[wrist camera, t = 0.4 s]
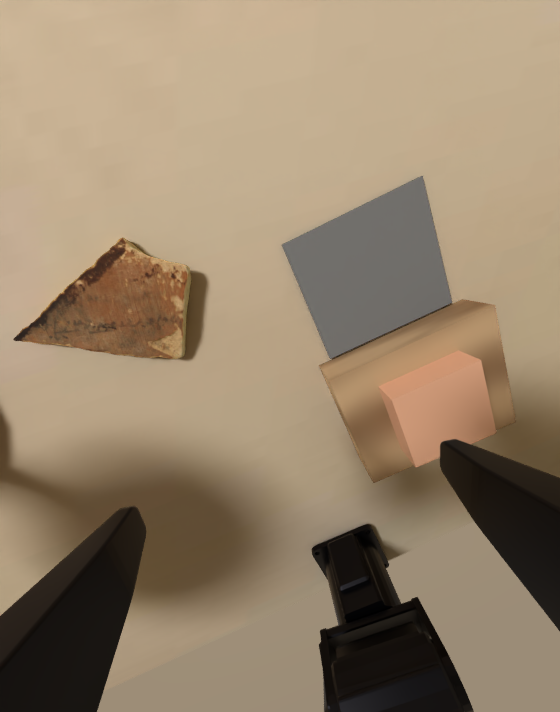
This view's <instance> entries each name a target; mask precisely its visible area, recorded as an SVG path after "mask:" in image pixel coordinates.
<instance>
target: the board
mask: <svg viewBox="0 0 560 712" xmlns="http://www.w3.org/2000/svg"><path fill="white" fill-rule="evenodd" d="M458 350H459V351H461V352H464V353H466V354H468V355H471V356H473V357H475V358H478V359H480V360H481V362H482V367H483V371H484V376H485V381H486V386H487V390H488V395H489V400H490V405H491V409H492V414H493V419H494V423H495V428H496V430H498V429H500V428H503V427H505V426H507V425H510V424H512V423H514V422H516V420H515V414H514V409H513V403H512V398H511V392H510V386H509V381H508V375H507V370H506V364H505V358H504V353H503V347H502V342H501V336H500V330H499V325H498V319H497V314H496V308H495V305H491V304H486V303H480V302H474V301H469V300H463V299H462V300H460V301H458V302H456V303H454V304H452V305H449V306H447V307H445V308H443V309H441V310H439V311H436V312H434V313H432V314H430V315H428V316H426V317H423V318H421V319H419V320H417V321H415V322H413V323H410V324H408V325H406V326H404V327H402V328H400V329H397V330H395V331H393V332H391V333H389V334H387V335H384V336H382V337H380V338H378V339H376V340H374V341H371V342H369V343H367V344H365V345H363V346H361V347H358V348H356V349H354V350H352V351H350V352H348V353H345V354H343V355H341V356H339V357H337V358H335V359H332V360H330V361H328V362H326V363H324V364H322V365H319V367H320V369H321V371H322V374H323V376H324V378H325V380H326V383H327V385H328V387H329V389H330V392H331V394H332V396H333V398H334V401H335V403H336V405H337V407H338V410H339V412H340V414H341V416H342V419H343V421H344V423H345V425H346V428H347V430H348V432H349V435H350V437H351V439H352V441H353V444H354V446H355V448H356V450H357V453H358V455H359V457H360V459H361V461H362V463H363V465H364V466H365V468H366V470H367V472H368V474H369V476H370V477H371V479H372V481H373V483H375V482H377V481H380V480H382V479H384V478H386V477H389V476H391V475H393V474H396V473H398V472H400V471H403V470H405V469H407V468H410V467H412V466H414V465H413V463H412V462H411V461H410V460H409V458H408V457H407V456H406V455H405V453H404V452H403V451H402V450H401V447H400V444H399V442H398V439H397V436H396V433H395V431H394V428H393V425H392V423H391V420H390V417H389V415H388V412H387V409H386V406H385V404H384V401H383V398H382V396H381V393H380V390H379V387H378V386H380V385H383V384H385V383H387V382H389V381H392V380H394V379H396V378H398V377H400V376H403V375H405V374H407V373H409V372H411V371H414V370H416V369H418V368H420V367H423V366H425V365H427V364H429V363H431V362H434V361H436V360H438V359H440V358H443V357H445V356H447V355H449V354H451V353H454V352H456V351H458Z"/></svg>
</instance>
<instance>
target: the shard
mask: <svg viewBox="0 0 560 712" xmlns="http://www.w3.org/2000/svg"><path fill="white" fill-rule="evenodd" d="M191 282H192V281H191V274H190V268H189V267H188V266H186V265H183V264H179V263H173V262H168V261H165V260H161V259H157V258H154V257H150V256H148V255H146V254H144V253H143V252H142V251H141V250H139V249H138V248H137V247H136V246H135V245H133V244H132V243H131V242H129V241H128V240H126V239H125V238H121V239H119V240H118V242H117V243H116V244H115V245H114V246H112V247H111V248H110V250H109V251H108V252H106V253H104V254H103V255H102V256H101V257H100V258H99V259H98V260H97V261H96V262H95V264H94V265H93V266H92V267H90V268H88V269H86V270H85V271H84V272H83V273H82V274H81V275H80V276H79V277H78V278H77V279H76V280H75V281H74V282H72V283H71V284H70V285H68V286H67V287H66V288H65V289H64V290H63V292H62V293H60V294H59V295H58V296H57V297H56V298H55V299H54V300H53V301H52V302H51V303H50V304H49V305H48V306H47V308H46V309H45V310H44V311H43V312H42V313H41V315H40V316H39V317H38V318H37V319H36V320H35V321H34V322H33V323H31V324H30V325H29V326H28V327H25V328H24V329H22V330H21V332H20V333H19V334H18V335H17V336H16V337H15V338H14V341H23V342H33V343H40V344H58V345H64V346H70V347H76V348H82V349H85V350H90V351H96V352H106V353H111V354H115V355H124V356H126V355H131V356H135V357H148V358H155V357H163V358H169V359H177V358H180V357H184V355H185V348H186V345H185V340H186V313H187V306H188V301H189V292H190V285H191Z"/></svg>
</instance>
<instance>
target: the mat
mask: <svg viewBox="0 0 560 712" xmlns="http://www.w3.org/2000/svg"><path fill="white" fill-rule="evenodd" d="M282 247H283V249H284V251H285V254H286V256H287V258H288V261H289V263H290V265H291V268H292V270H293V273H294V275H295V277H296V280H297V282H298V284H299V287H300V289H301V291H302V294H303V296H304V299H305V301H306V303H307V306H308V308H309V310H310V313H311V315H312V317H313V320H314V322H315V325H316V327H317V329H318V332H319V334H320V336H321V339H322V341H323V343H324V346H325V348H326V351H327V353H328V355H329V358H330V359H331V358H333V357H336V356H338V355H340V354H342V353H344V352H346V351H349V350H351V349H353V348H355V347H357V346H359V345H362V344H364V343H366V342H368V341H370V340H372V339H375V338H377V337H379V336H381V335H383V334H385V333H388V332H390V331H392V330H394V329H396V328H398V327H401V326H403V325H405V324H407V323H409V322H411V321H414V320H416V319H418V318H420V317H422V316H424V315H427V314H429V313H431V312H433V311H435V310H437V309H440V308H442V307H444V306H446V305H448V304H450V303H452V300H451V295H450V291H449V287H448V283H447V278H446V274H445V270H444V266H443V261H442V257H441V253H440V248H439V244H438V240H437V236H436V231H435V227H434V223H433V218H432V214H431V210H430V206H429V201H428V197H427V193H426V188H425V184H424V180H423V176H421V177H418V178H416V179H414V180H412V181H410V182H408V183H406V184H404V185H402V186H400V187H398V188H396V189H394V190H392V191H390V192H388V193H386V194H384V195H382V196H380V197H378V198H376V199H374V200H372V201H370V202H368V203H366V204H364V205H362V206H360V207H358V208H355V209H353V210H351V211H349V212H347V213H345V214H343V215H341V216H339V217H337V218H335V219H333V220H331V221H329V222H327V223H325V224H323V225H321V226H319V227H317V228H315V229H313V230H311V231H309V232H307V233H305V234H303V235H301V236H299V237H297V238H295V239H292V240H290V241H288V242H286V243H284V244H282Z"/></svg>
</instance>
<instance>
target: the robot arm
mask: <svg viewBox="0 0 560 712" xmlns="http://www.w3.org/2000/svg"><path fill="white" fill-rule="evenodd" d="M440 467H441V470H442V472H443V474H444V475H445V477H446V478H447V480H448V482H449V483H450V485H451V486H452V488H453V489H454V491H455V492H456V494H457V495H458V497H459V499H460V500H461V502H462V503H463V505H464V506H465V508H466V509H467V511H468V512H469V514H470V516H471V517H472V518H473V520H474V521H475V523H476V524H477V526H478V527H479V528H480V529H481V531H482V532H483V534H484V535H485V536H486V537H487V539H488V540H489V541H490V542H491V544H492V545H493V546H494V547H495V549H496V550H497V551H498V553H499V554H500V555H501V557H502V558H503V559H504V560H505V562H506V563H507V564H508V565H509V567H510V568H511V569H512V570H513V572H514V573H515V574H516V576H517V577H518V578H519V580H520V581H521V582H522V583H523V585H524V586H525V587H526V588H527V590H528V591H529V592H530V594H531V595H532V596H533V598H534V599H535V600H536V601H537V603H538V604H539V605H540V606H541V608H542V609H543V610H544V612H545V613H546V614H547V615H548V617H549V618H550V619H551V621H552V622H553V623H554V624H555V626H556V627H557V628H558V630H559V631H560V478H558V477H556V476H553V475H550V474H548V473H545V472H542V471H540V470H537V469H535V468H532V467H529V466H527V465H524V464H521V463H519V462H516V461H513V460H511V459H508V458H505V457H503V456H500V455H497V454H495V453H492V452H489V451H487V450H484V449H481V448H479V447H476V446H473V445H471V444H468V443H465V442H463V441H460V440H457V439H451V440H446V441H442V442H441V444H440ZM145 538H146V526H145V524H144V522H143V519H142V517H141V515H140V512H139V510H138V508H137V507H136V506H129V507H125V508H121V509H119V510H118V511H117V512H116V513H114V514H113V515H112V516H111V517H110V518H109V519H108V520H107V521H106V522H104V523H103V524H102V525H101V526H100V527H99V528H98V529H97V530H96V531H94V532H93V533H92V534H91V535H90V536H89V537H88V538H87V539H85V540H84V541H83V542H82V543H81V544H80V545H79V546H78V547H77V548H75V549H74V550H73V551H72V552H71V553H70V554H69V555H68V556H67V557H65V558H64V559H63V560H62V561H61V562H60V563H59V564H58V565H57V566H55V567H54V568H53V569H52V570H51V571H50V572H49V573H48V574H47V575H45V576H44V577H43V578H42V579H41V580H40V581H39V582H38V583H37V584H35V585H34V586H33V587H32V588H31V589H30V590H29V591H28V592H26V593H25V594H24V595H23V596H22V597H21V598H20V599H19V600H18V601H16V602H15V603H14V604H13V605H12V606H11V607H10V608H9V609H8V610H6V611H5V612H4V613H3V614H2V615H1V616H0V712H97V710H98V706H99V703H100V700H101V697H102V694H103V690H104V687H105V684H106V681H107V678H108V674H109V671H110V668H111V665H112V662H113V658H114V655H115V652H116V649H117V645H118V642H119V639H120V636H121V633H122V629H123V626H124V623H125V620H126V617H127V613H128V610H129V607H130V603H131V600H132V596H133V592H134V588H135V583H136V579H137V574H138V570H139V565H140V561H141V556H142V551H143V547H144V542H145ZM312 555H313V557H314V558H315V560H316V562H317V563H318V565H319V566H320V568H321V570H322V571H323V573H324V575H325V576H326V578H327V579H328V582H329V587H330V591H331V595H332V599H333V604H334V608H335V612H336V616H337V620H338V626H336V627H332V628H330V629H326V628H325V629H322V630H320V634H321V643H320V644H319V649H320V654H321V661H322V666H323V676H324V677H323V678H324V712H474V711H473V708H472V706H471V703H470V701H469V698H468V696H467V693H466V691H465V689H464V687H463V684H462V682H461V680H460V678H459V676H458V673H457V671H456V669H455V667H454V665H453V663H452V661H451V659H450V657H449V655H448V653H447V651H446V649H445V647H444V645H443V644H442V642H441V640H440V638H439V636H438V634H437V632H436V631H435V629H434V627H433V625H432V623H431V621H430V619H429V618H428V616H427V614H426V612H425V610H424V608H423V607H422V605H421V603H420V601H419V599H418V597H415V598H413V599H411V601H408V602H406V603H403V604H401V602H400V600H399V598H398V595H397V593H396V591H395V589H394V586H393V584H392V582H391V579H390V577H389V575H388V572H387V570H386V568H387V567H388V566H389V563H388V561H387V559H386V557H385V555H384V552H383V550H382V548H381V546H380V544H379V542H378V540H377V538H376V536H375V534H374V531H373V529H372V527H371V526H370V525H364V526H362V527H360V528H357V529H355V530H353V531H350V532H348V533H345V534H343V535H341V536H338V537H336V538H334V539H331V540H329V541H327V542H324V543H322V544H319V545H317V546H315V547H313V548H312Z"/></svg>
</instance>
